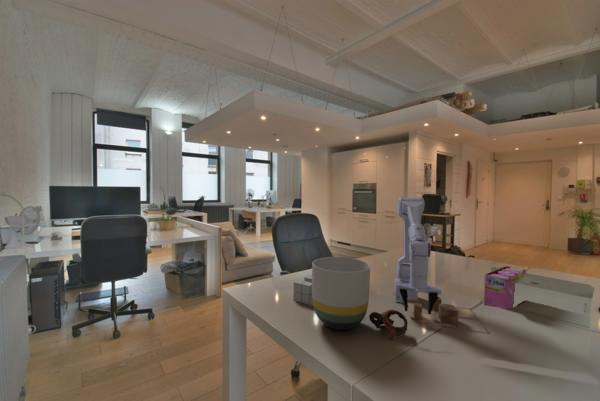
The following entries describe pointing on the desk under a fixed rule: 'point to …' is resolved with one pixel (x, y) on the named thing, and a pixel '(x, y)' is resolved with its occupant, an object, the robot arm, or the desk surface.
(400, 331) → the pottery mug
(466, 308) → the tray board
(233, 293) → the desk surface
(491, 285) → the gum box
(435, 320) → the brown angular piece
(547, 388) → the desk surface
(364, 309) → the planter
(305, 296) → the puzzle cube
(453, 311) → the walnut block
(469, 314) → the back strip
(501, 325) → the desk surface
